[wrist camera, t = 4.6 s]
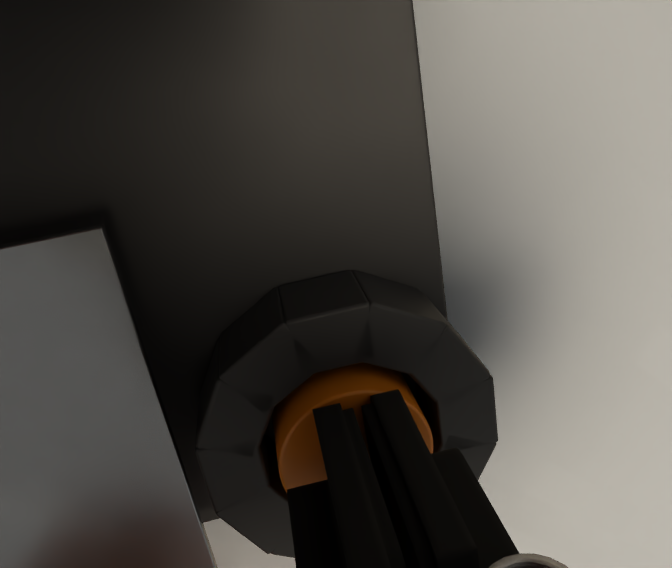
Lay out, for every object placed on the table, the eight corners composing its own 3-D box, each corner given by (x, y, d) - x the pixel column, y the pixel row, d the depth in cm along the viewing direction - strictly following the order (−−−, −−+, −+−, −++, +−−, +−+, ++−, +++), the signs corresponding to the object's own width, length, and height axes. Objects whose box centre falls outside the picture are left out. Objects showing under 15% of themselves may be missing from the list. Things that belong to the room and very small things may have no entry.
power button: (287, 481, 14) (295, 540, 12) (258, 365, 12) (263, 413, 11) (417, 449, 14) (442, 502, 12) (400, 333, 13) (425, 374, 11)
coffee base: (-145, 591, 15) (-231, 718, 12) (-708, -260, 8) (-1167, -411, 6) (457, 440, 16) (505, 522, 13) (364, -391, 10) (418, -565, 7)
